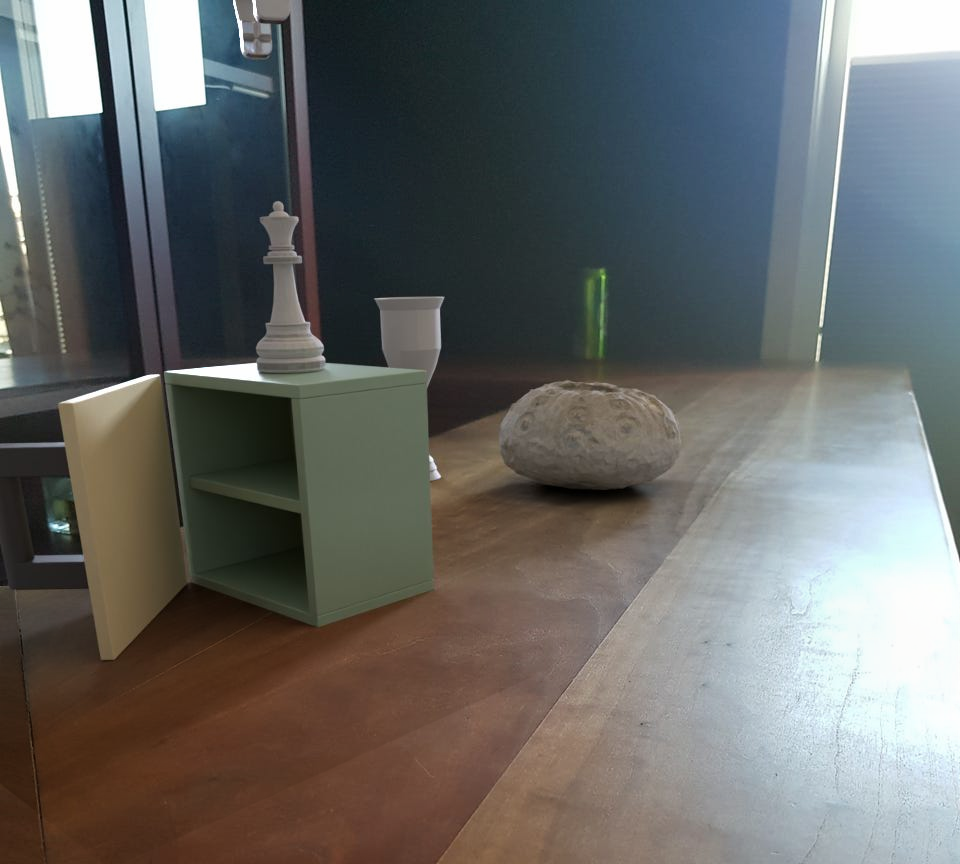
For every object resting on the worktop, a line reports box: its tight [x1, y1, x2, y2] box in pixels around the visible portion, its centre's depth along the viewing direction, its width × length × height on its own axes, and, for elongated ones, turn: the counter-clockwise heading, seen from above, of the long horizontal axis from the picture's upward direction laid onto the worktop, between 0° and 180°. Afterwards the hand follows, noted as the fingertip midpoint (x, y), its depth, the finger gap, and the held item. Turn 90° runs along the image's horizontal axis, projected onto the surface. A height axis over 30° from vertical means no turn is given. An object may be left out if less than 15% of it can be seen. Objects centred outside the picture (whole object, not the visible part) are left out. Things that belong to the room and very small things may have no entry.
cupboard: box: [163, 362, 435, 628], centre depth 66 cm, size 10×15×15 cm
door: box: [0, 374, 188, 661], centre depth 60 cm, size 6×15×14 cm, turn 0°
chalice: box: [374, 296, 445, 482], centre depth 101 cm, size 7×7×18 cm
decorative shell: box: [498, 379, 682, 491], centre depth 96 cm, size 18×18×10 cm
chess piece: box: [255, 200, 327, 374], centre depth 61 cm, size 4×4×10 cm
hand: (264, 40), depth 57 cm, fingers open, 8 cm apart
